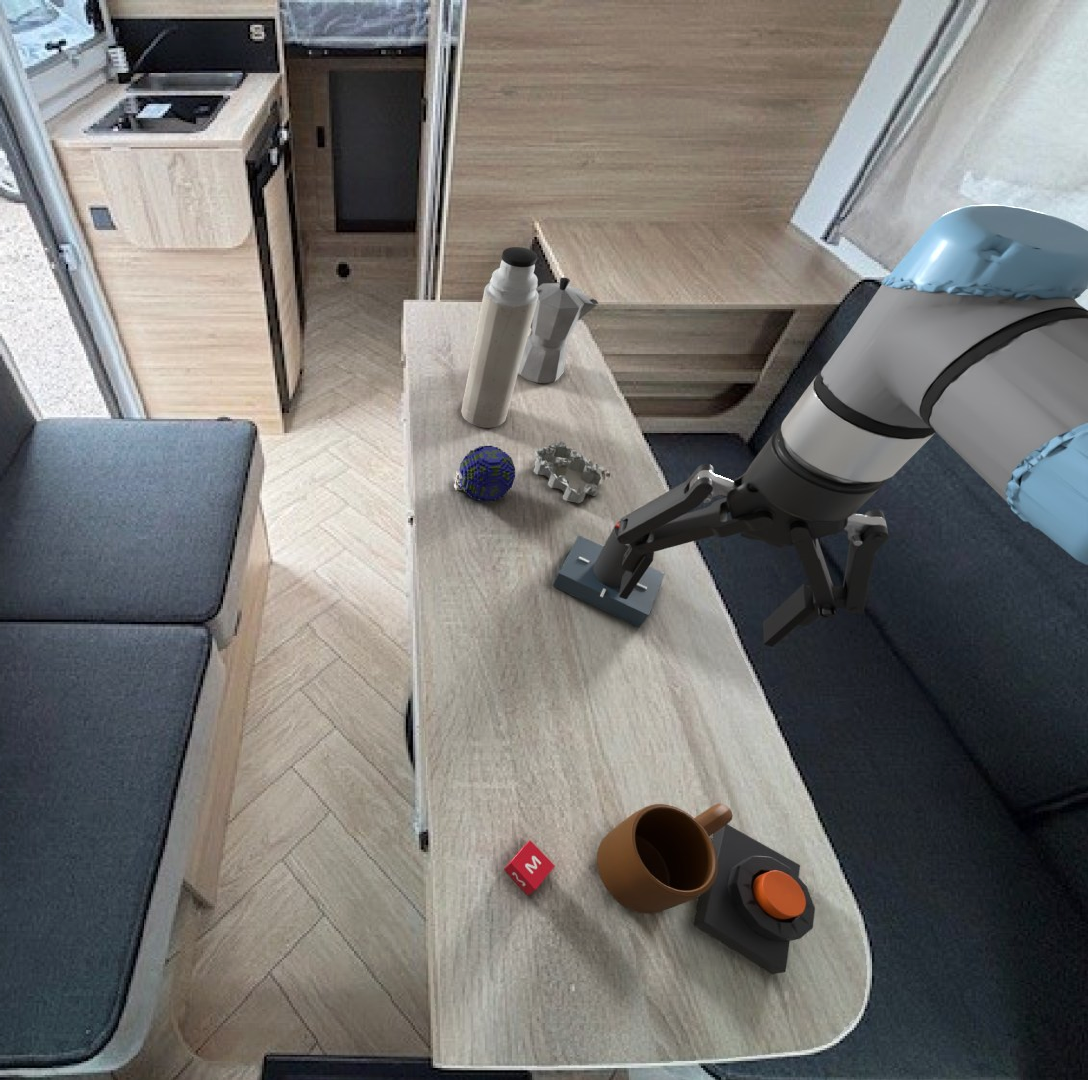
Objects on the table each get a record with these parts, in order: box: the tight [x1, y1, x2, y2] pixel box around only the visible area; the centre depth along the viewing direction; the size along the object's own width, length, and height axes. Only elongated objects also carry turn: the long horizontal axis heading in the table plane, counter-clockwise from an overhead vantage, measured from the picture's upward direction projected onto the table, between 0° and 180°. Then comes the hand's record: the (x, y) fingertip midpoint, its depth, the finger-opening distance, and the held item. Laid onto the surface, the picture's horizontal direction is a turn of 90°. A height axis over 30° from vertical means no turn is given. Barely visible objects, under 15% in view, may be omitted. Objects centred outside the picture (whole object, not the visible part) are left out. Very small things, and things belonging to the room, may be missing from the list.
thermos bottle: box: [461, 246, 539, 429], centre depth 94 cm, size 8×8×28 cm
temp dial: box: [593, 520, 630, 588], centre depth 75 cm, size 5×5×8 cm
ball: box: [453, 445, 516, 502], centre depth 89 cm, size 8×8×8 cm
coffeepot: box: [518, 276, 599, 384], centre depth 107 cm, size 15×9×18 cm, turn 75°
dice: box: [503, 839, 556, 896], centre depth 57 cm, size 3×3×3 cm
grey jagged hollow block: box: [533, 441, 611, 504], centre depth 92 cm, size 11×8×4 cm
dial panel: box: [552, 534, 666, 629], centre depth 79 cm, size 12×9×3 cm
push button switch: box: [692, 823, 816, 975], centre depth 55 cm, size 8×10×4 cm
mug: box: [596, 803, 734, 915], centre depth 55 cm, size 12×8×9 cm, turn 118°
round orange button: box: [753, 871, 806, 919], centre depth 53 cm, size 4×4×2 cm
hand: (693, 610), depth 58 cm, fingers open, 13 cm apart
